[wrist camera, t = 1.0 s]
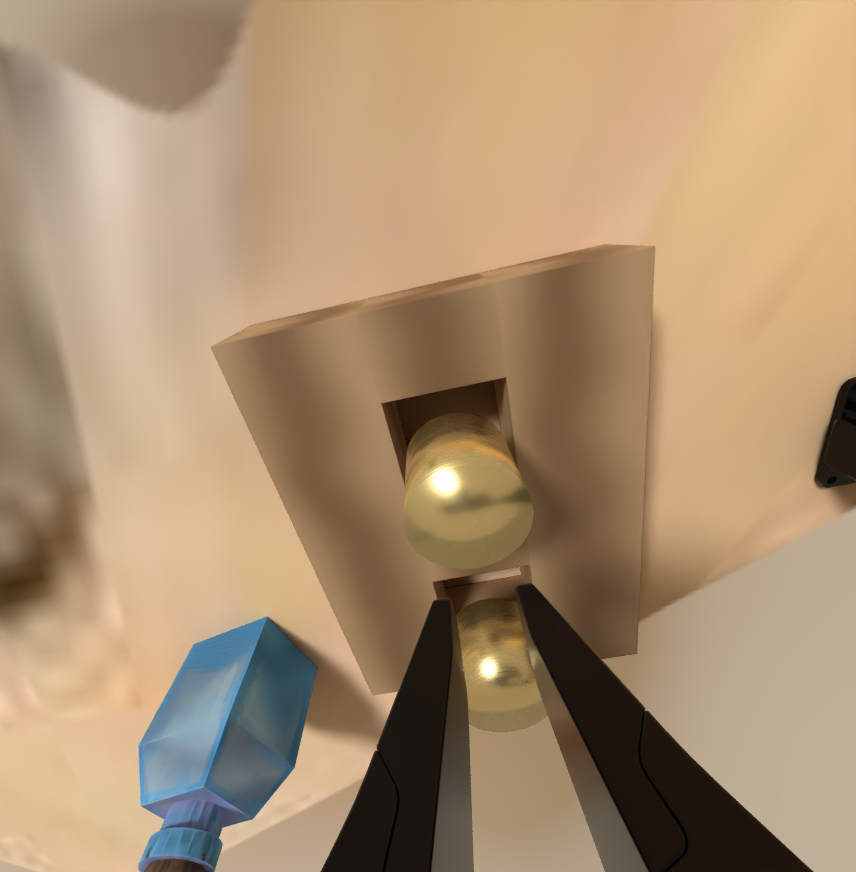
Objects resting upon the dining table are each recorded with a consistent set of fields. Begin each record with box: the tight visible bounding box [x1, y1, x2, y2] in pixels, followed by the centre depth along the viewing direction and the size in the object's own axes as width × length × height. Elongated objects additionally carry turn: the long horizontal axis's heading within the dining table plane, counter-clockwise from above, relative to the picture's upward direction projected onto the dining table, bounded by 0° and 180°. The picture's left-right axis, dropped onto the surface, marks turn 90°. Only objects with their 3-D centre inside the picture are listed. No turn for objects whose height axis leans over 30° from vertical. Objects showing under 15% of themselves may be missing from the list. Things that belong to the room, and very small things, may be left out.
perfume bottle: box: [138, 617, 317, 872], centre depth 23 cm, size 6×6×12 cm
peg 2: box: [456, 598, 548, 732], centre depth 18 cm, size 4×4×4 cm
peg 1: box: [404, 412, 534, 569], centre depth 14 cm, size 4×4×4 cm
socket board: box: [211, 244, 655, 695], centre depth 21 cm, size 16×22×4 cm
